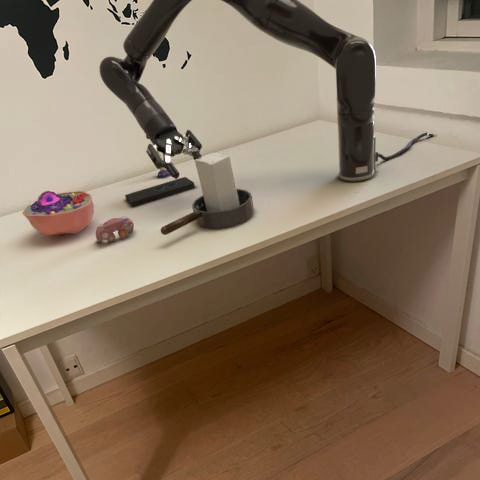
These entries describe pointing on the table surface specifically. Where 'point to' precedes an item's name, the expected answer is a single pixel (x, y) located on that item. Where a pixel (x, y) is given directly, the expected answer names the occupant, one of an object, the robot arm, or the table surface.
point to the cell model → (60, 212)
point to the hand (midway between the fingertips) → (190, 171)
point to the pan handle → (180, 222)
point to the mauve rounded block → (114, 229)
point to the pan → (225, 212)
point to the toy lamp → (163, 172)
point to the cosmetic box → (217, 182)
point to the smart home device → (159, 191)
